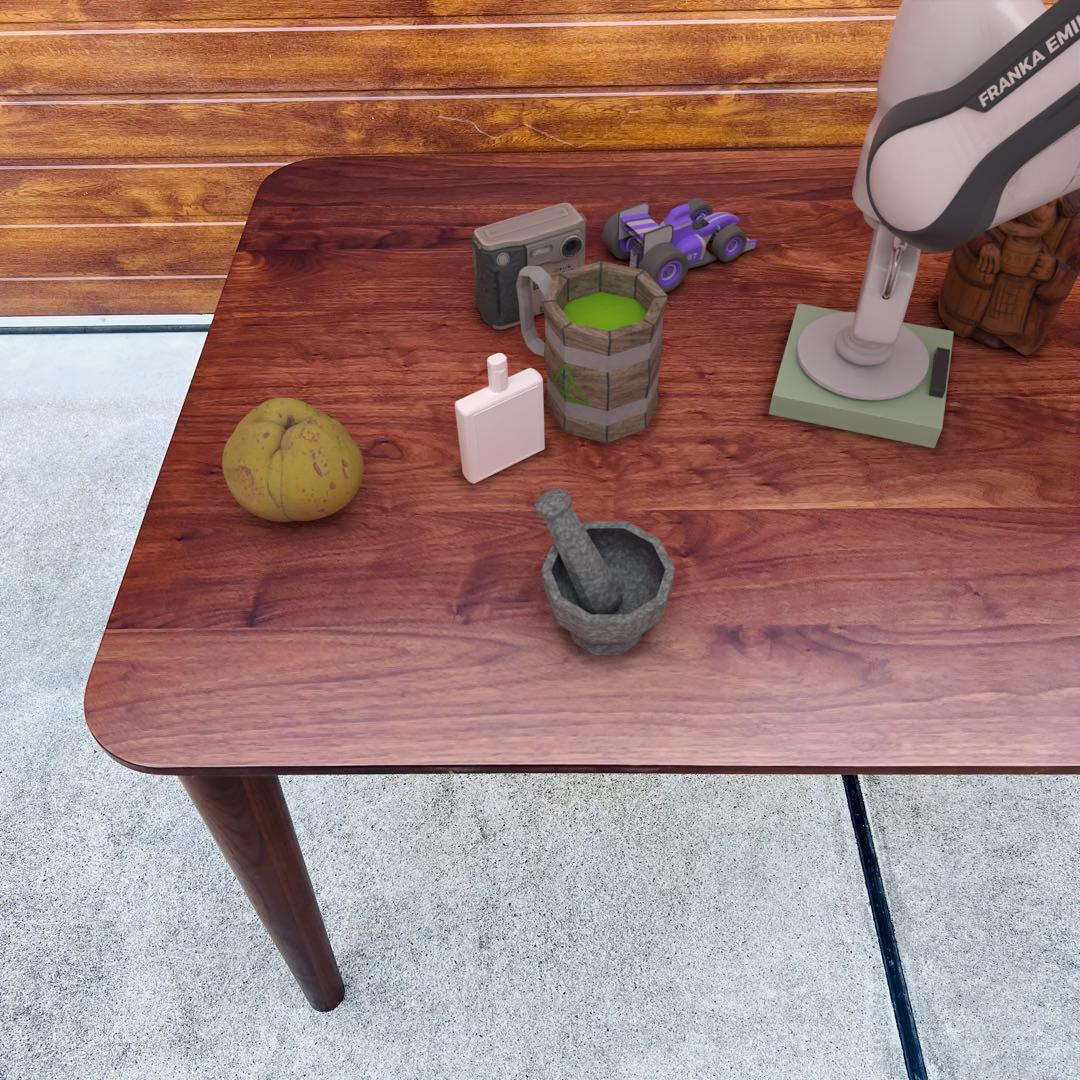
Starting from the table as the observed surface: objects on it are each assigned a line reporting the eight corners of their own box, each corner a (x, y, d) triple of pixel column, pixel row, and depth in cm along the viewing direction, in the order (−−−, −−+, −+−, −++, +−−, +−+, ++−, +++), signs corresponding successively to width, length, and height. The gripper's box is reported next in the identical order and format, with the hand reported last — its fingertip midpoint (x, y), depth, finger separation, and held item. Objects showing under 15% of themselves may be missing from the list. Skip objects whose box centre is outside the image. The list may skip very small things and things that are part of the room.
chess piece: (890, 332, 95) (916, 250, 88) (895, 370, 91) (921, 288, 84) (832, 328, 95) (853, 246, 88) (834, 365, 92) (856, 283, 85)
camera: (491, 336, 102) (484, 252, 94) (470, 304, 105) (462, 220, 98) (592, 305, 105) (594, 221, 97) (568, 275, 108) (568, 191, 100)
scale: (946, 351, 99) (957, 322, 96) (934, 448, 91) (945, 420, 88) (793, 323, 102) (799, 294, 99) (768, 414, 94) (774, 385, 91)
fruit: (264, 574, 83) (232, 493, 76) (224, 482, 90) (191, 399, 82) (388, 524, 86) (370, 442, 79) (341, 439, 93) (320, 356, 85)
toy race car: (764, 255, 109) (773, 202, 104) (649, 301, 105) (653, 247, 100) (711, 213, 115) (718, 160, 110) (600, 255, 110) (602, 202, 105)
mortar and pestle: (690, 613, 80) (706, 514, 70) (625, 696, 75) (632, 602, 66) (574, 549, 84) (575, 448, 75) (506, 624, 80) (497, 526, 70)
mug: (682, 399, 95) (694, 295, 86) (608, 460, 91) (612, 357, 81) (559, 329, 102) (558, 226, 93) (484, 382, 98) (475, 279, 88)
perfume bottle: (472, 486, 89) (460, 384, 80) (460, 473, 90) (448, 370, 81) (547, 449, 92) (544, 346, 82) (535, 436, 93) (531, 333, 83)
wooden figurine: (917, 322, 102) (973, 157, 88) (942, 290, 105) (999, 125, 91) (1034, 366, 97) (1112, 199, 83) (1056, 331, 100) (1134, 165, 86)
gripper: (943, 261, 73) (896, 402, 84) (962, 123, 85) (919, 262, 96) (855, 247, 75) (819, 387, 85) (886, 113, 87) (852, 250, 97)
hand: (872, 320), depth 91 cm, fingers closed on chess piece, 3 cm apart
